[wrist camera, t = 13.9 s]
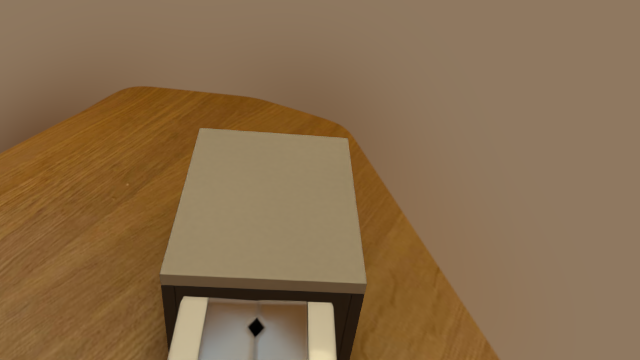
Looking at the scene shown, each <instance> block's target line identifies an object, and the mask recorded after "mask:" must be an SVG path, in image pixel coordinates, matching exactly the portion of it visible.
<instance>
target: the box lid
mask: <svg viewBox="0 0 640 360" xmlns="http://www.w3.org/2000/svg"><path fill="white" fill-rule="evenodd" d="M160 281H161V285H174V286H197V287H219V288H242V289H264V290H287V291H309V292H332V293H354V294H364V293H365V289H366V285H367V282H366V274H365V266H364V259H363V251H362V244H361V236H360V228H359V221H358V213H357V206H356V198H355V190H354V183H353V175H352V168H351V160H350V152H349V145H348V138H336V137H322V136H307V135H293V134H278V133H264V132H249V131H235V130H221V129H206V128H200V130H199V134H198V137H197V141H196V144H195V148H194V152H193V155H192V159H191V163H190V166H189V170H188V173H187V177H186V181H185V184H184V188H183V191H182V195H181V199H180V202H179V206H178V210H177V213H176V217H175V220H174V224H173V228H172V231H171V235H170V239H169V242H168V246H167V249H166V253H165V257H164V260H163V264H162V267H161V271H160Z"/></svg>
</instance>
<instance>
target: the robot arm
mask: <svg viewBox="0 0 640 360" xmlns="http://www.w3.org/2000/svg"><path fill="white" fill-rule="evenodd" d="M168 360H337V356H336V340H335V325H334V309H333V305H332V303H324V302H306V301H280V300H258V301H254V300H239V299H224V298H207V297H188V296H184V297H183V299H182V301H181V303H180V307H179V311H178V316H177V320H176V324H175V329H174V333H173V338H172V342H171V346H170V351H169V355H168Z"/></svg>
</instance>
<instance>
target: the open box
mask: <svg viewBox="0 0 640 360" xmlns="http://www.w3.org/2000/svg"><path fill="white" fill-rule="evenodd" d="M161 289H162V298H163V307H164V316H165V325H166V334H167V343H168V352H169V351H170V346H171V342H172V338H173V333H174V329H175V324H176V320H177V316H178V311H179V307H180V303H181V301H182V299H183V297H184V296H188V297H207V298H224V299H239V300H254V301H258V300H280V301H306V302H324V303H332V305H333V309H334V325H335V340H336V356H337V360H350V355H351V351H352V347H353V342H354V338H355V333H356V329H357V324H358V320H359V316H360V311H361V307H362V302H363V298H364V294H354V293H332V292H309V291H287V290H264V289H242V288H219V287H197V286H174V285H161Z"/></svg>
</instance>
